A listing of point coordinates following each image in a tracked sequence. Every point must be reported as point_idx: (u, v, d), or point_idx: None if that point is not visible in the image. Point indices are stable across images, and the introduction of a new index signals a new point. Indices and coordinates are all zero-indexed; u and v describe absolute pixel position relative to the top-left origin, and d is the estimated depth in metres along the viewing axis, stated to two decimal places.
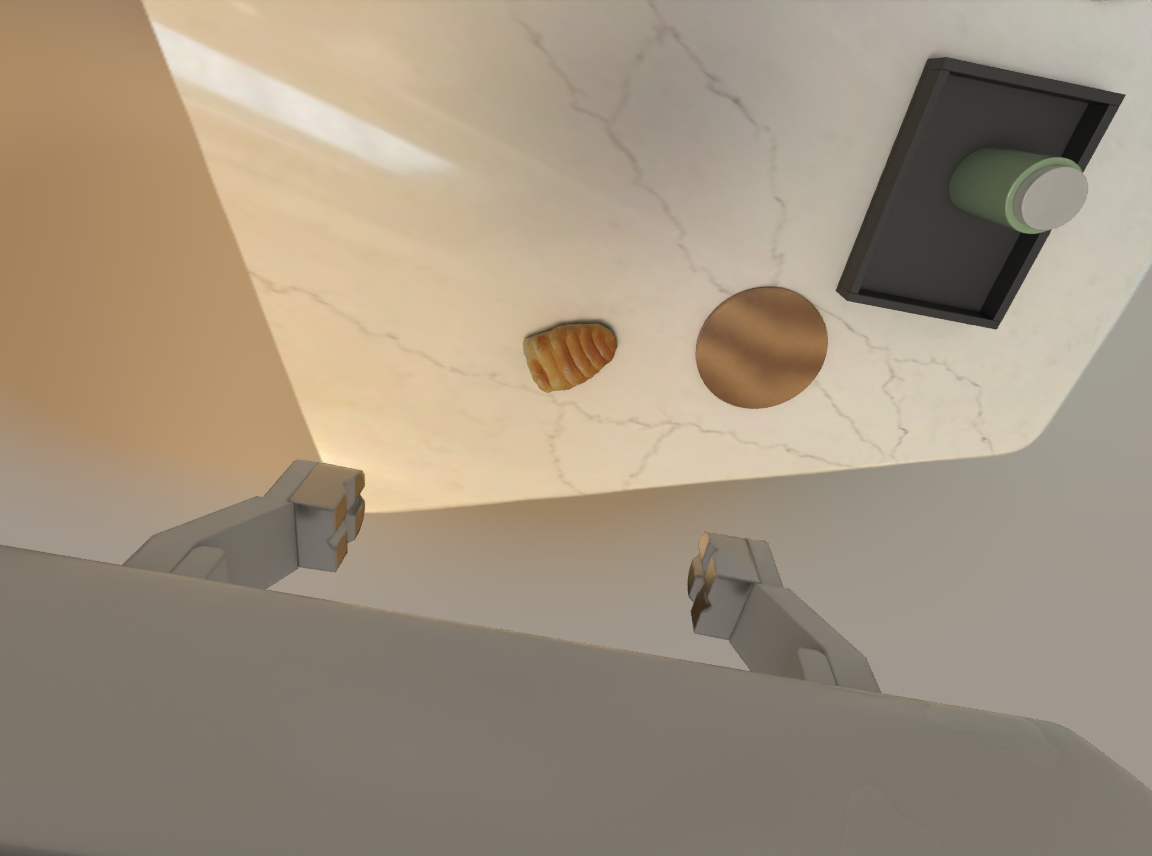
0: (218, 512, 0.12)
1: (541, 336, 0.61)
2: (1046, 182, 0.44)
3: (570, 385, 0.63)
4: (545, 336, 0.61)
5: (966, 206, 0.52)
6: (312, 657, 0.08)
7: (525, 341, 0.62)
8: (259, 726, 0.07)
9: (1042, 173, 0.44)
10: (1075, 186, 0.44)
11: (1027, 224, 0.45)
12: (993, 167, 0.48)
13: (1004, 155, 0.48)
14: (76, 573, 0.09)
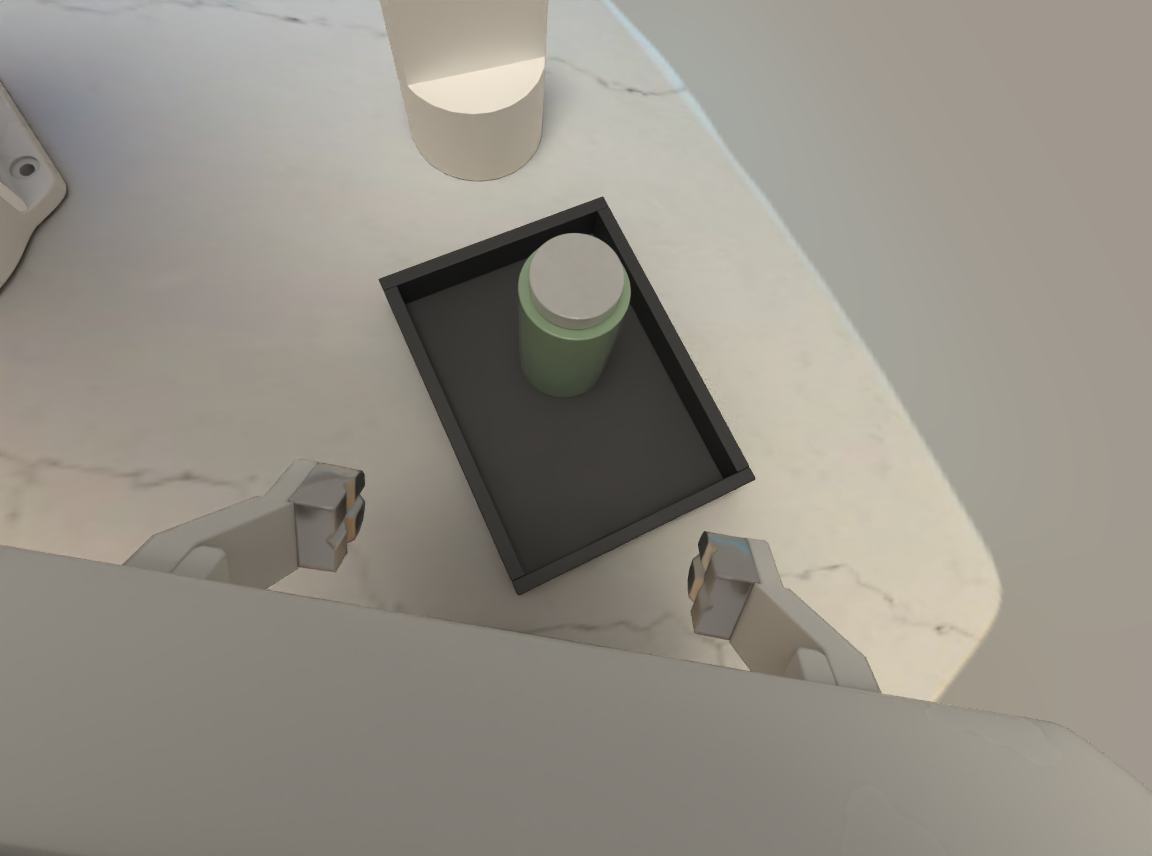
0: (218, 512, 0.12)
1: None
2: (544, 266, 0.28)
3: None
4: None
5: (554, 382, 0.34)
6: (312, 657, 0.08)
7: None
8: (259, 726, 0.07)
9: (531, 263, 0.28)
10: (585, 248, 0.28)
11: (578, 320, 0.27)
12: None
13: None
14: (76, 573, 0.09)
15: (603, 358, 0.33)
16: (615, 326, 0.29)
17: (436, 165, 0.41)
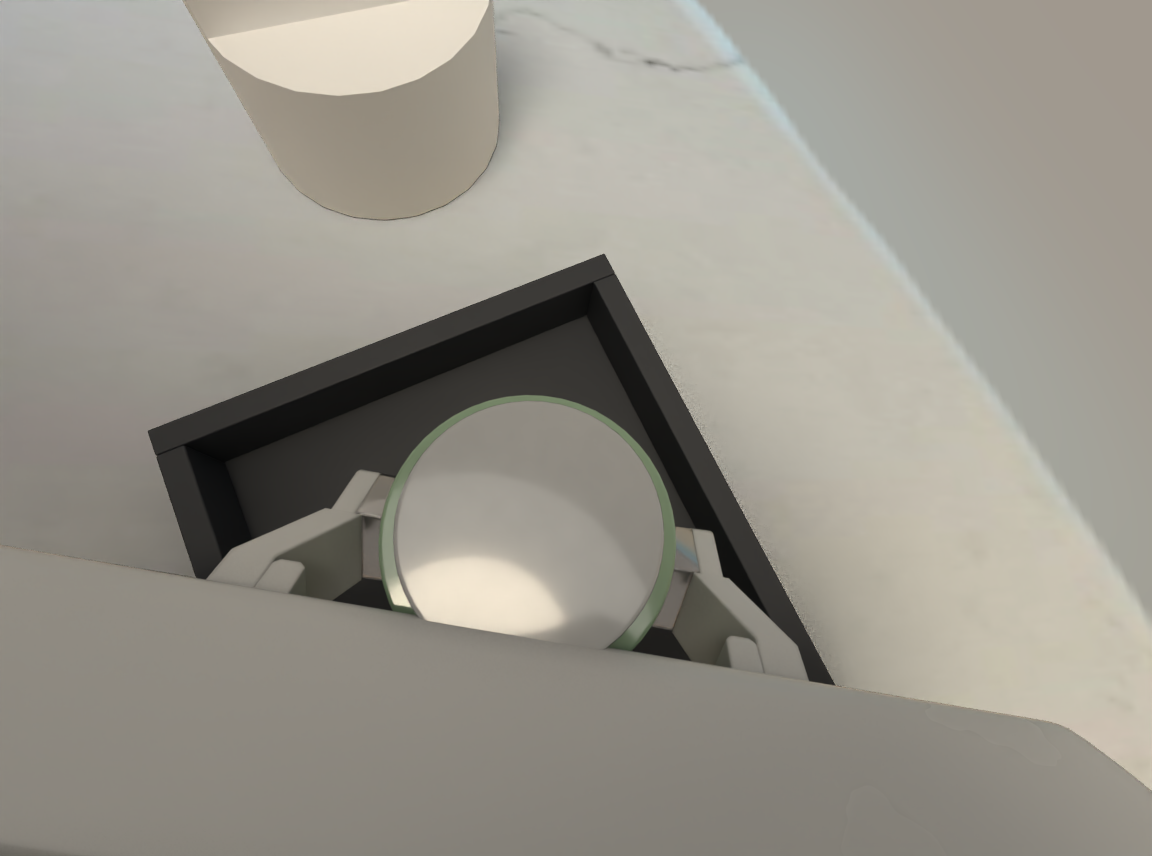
0: (290, 525, 0.12)
1: None
2: (439, 506, 0.10)
3: None
4: None
5: None
6: (312, 657, 0.08)
7: None
8: (259, 726, 0.07)
9: None
10: (555, 447, 0.10)
11: None
12: None
13: None
14: (77, 572, 0.09)
15: None
16: None
17: (306, 193, 0.23)
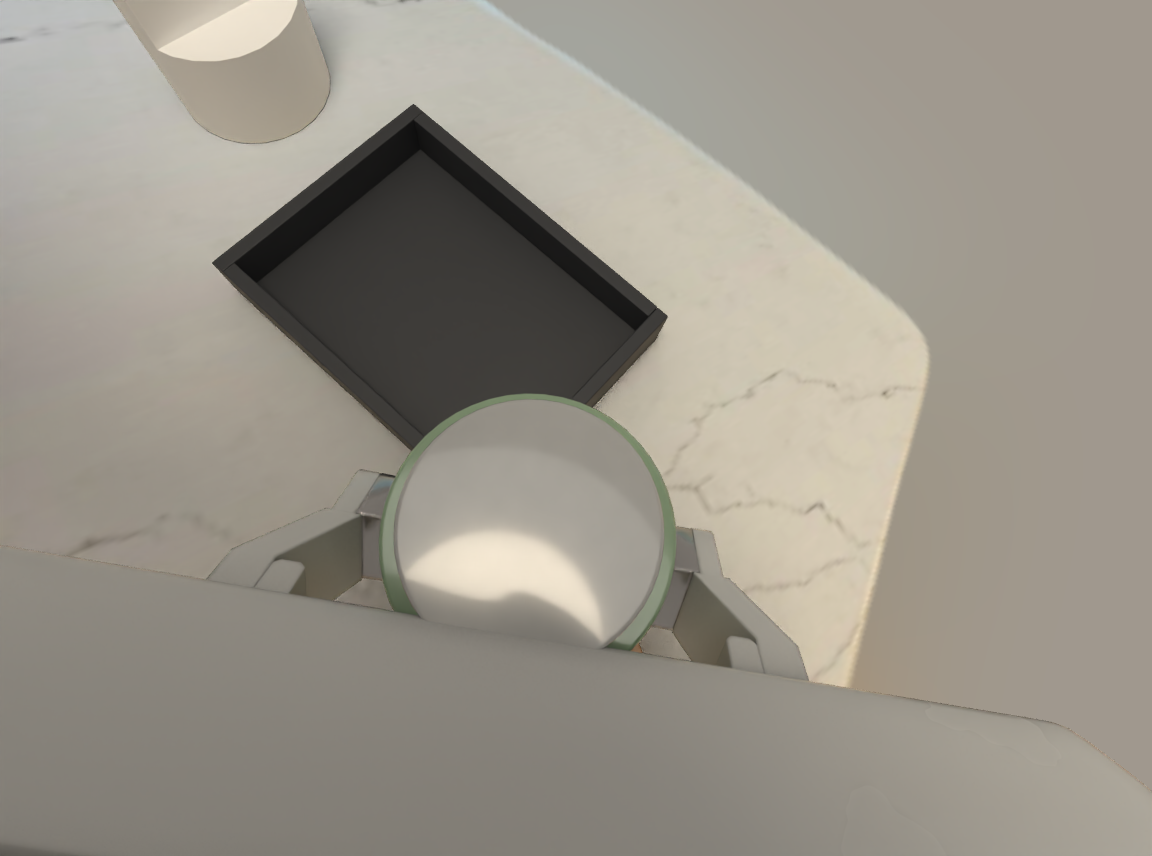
0: (291, 525, 0.12)
1: None
2: (440, 504, 0.10)
3: None
4: None
5: None
6: (312, 657, 0.08)
7: None
8: (259, 727, 0.07)
9: None
10: (556, 445, 0.10)
11: None
12: None
13: None
14: (76, 573, 0.09)
15: None
16: None
17: (230, 137, 0.37)
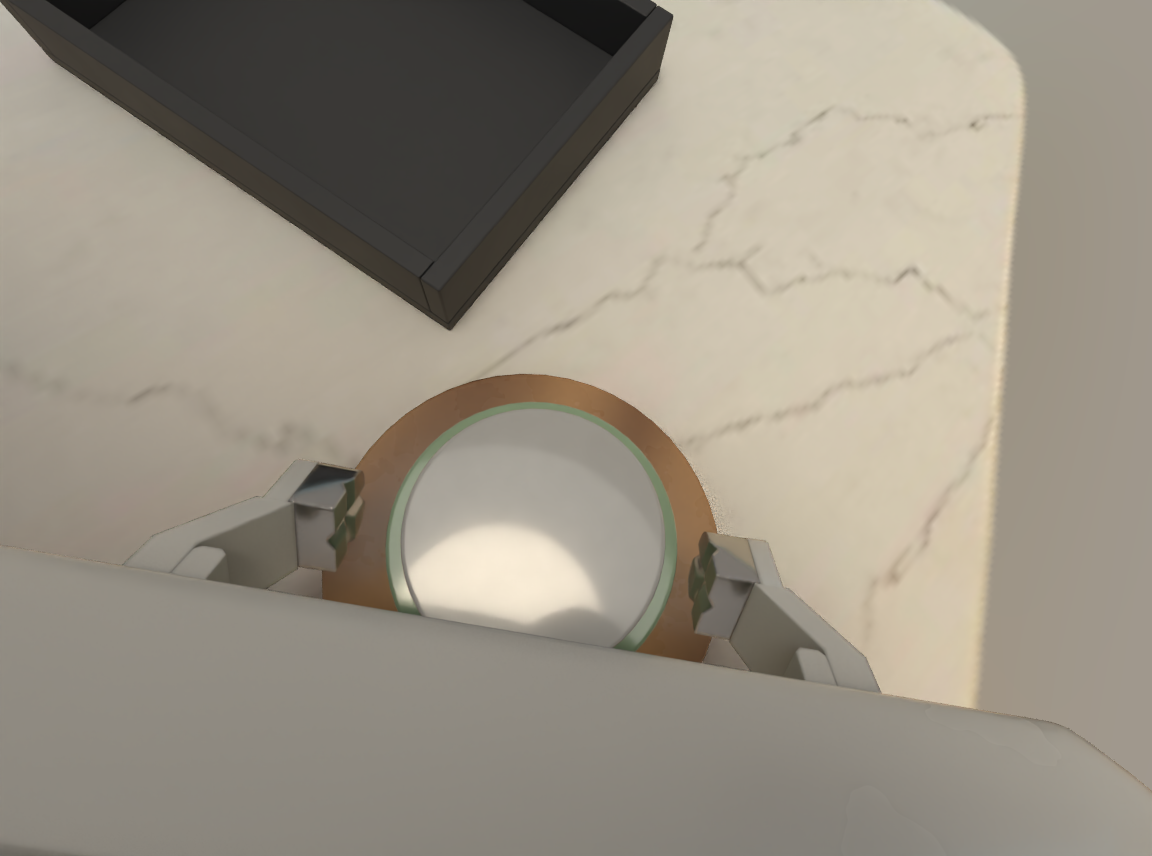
0: (218, 512, 0.12)
1: None
2: (445, 512, 0.10)
3: None
4: None
5: None
6: (312, 657, 0.08)
7: None
8: (259, 726, 0.07)
9: None
10: (559, 454, 0.10)
11: None
12: None
13: None
14: (76, 573, 0.09)
15: None
16: None
17: None
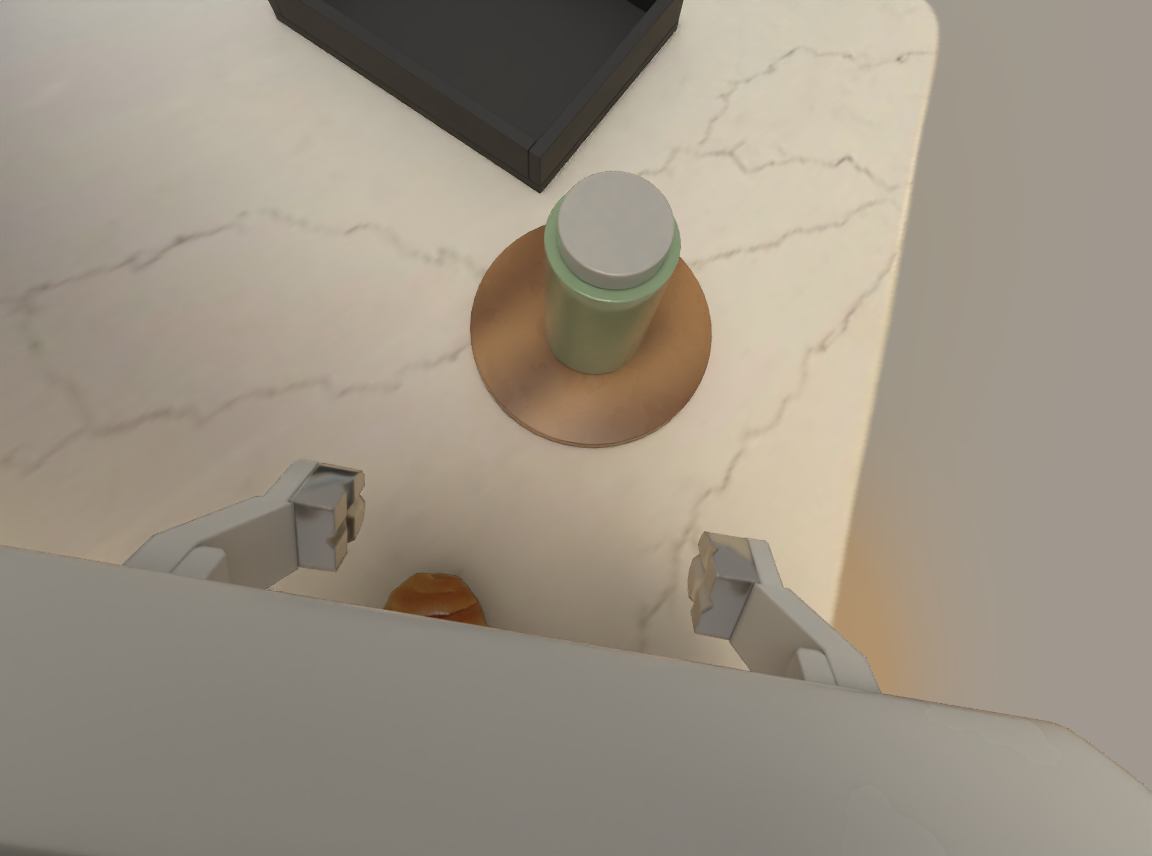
0: (218, 512, 0.12)
1: None
2: (577, 212, 0.23)
3: None
4: None
5: (585, 356, 0.29)
6: (312, 657, 0.08)
7: None
8: (259, 726, 0.07)
9: None
10: (626, 190, 0.23)
11: (618, 277, 0.22)
12: None
13: None
14: (75, 573, 0.09)
15: (644, 327, 0.28)
16: (662, 286, 0.24)
17: None
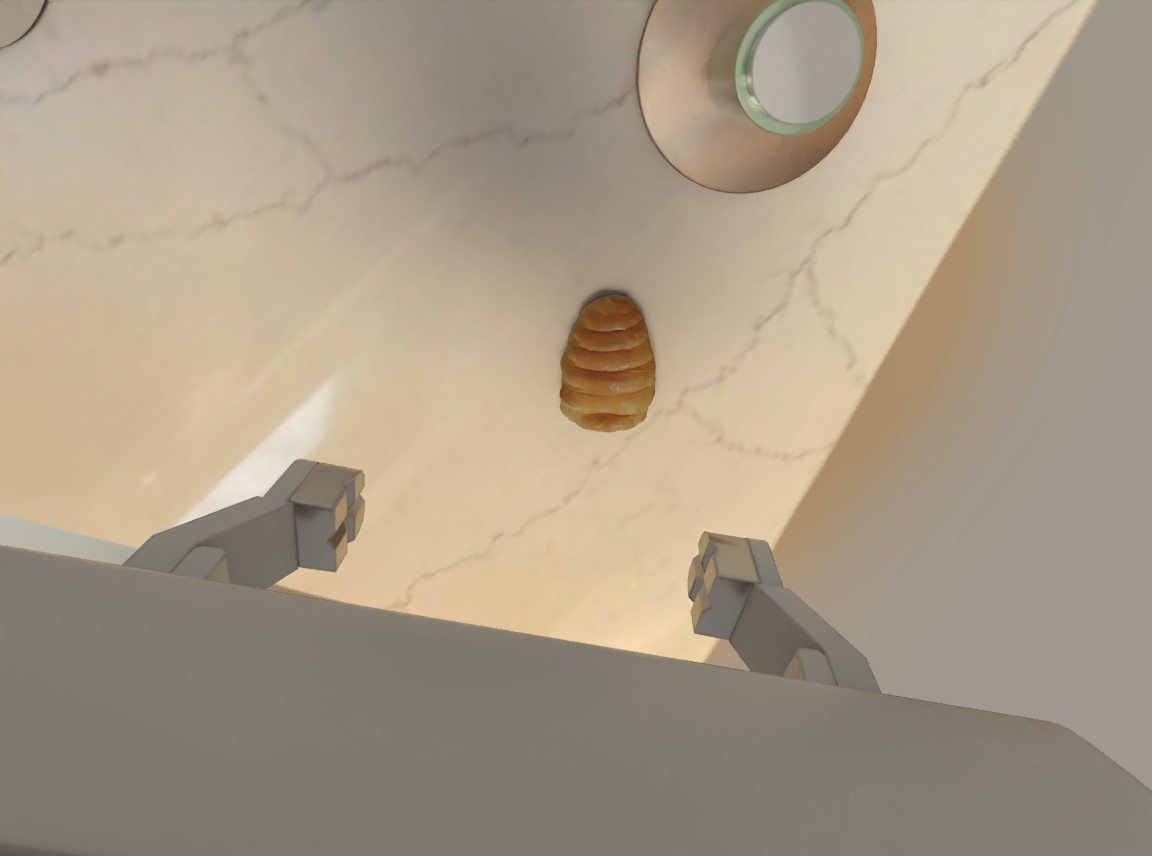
0: (218, 512, 0.12)
1: (560, 390, 0.43)
2: (770, 55, 0.25)
3: (646, 388, 0.42)
4: (563, 385, 0.43)
5: None
6: (312, 657, 0.08)
7: (562, 410, 0.44)
8: (259, 727, 0.07)
9: (755, 47, 0.25)
10: (822, 25, 0.24)
11: (796, 124, 0.26)
12: (721, 67, 0.30)
13: (728, 39, 0.30)
14: (76, 573, 0.09)
15: None
16: (833, 115, 0.27)
17: None
